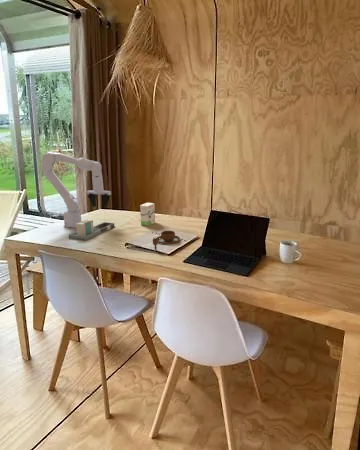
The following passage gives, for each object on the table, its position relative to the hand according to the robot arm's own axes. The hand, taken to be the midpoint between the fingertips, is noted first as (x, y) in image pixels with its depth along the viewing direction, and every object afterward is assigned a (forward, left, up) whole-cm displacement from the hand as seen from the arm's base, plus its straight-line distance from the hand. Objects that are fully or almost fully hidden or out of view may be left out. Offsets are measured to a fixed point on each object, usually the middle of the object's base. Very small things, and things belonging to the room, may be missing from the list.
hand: (100, 206), depth 212 cm
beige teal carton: (+5, -21, -10) cm, 24 cm away
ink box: (+26, +10, -11) cm, 29 cm away
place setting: (+48, -18, -11) cm, 52 cm away
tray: (+5, -21, -10) cm, 24 cm away
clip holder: (+7, -8, -10) cm, 15 cm away
